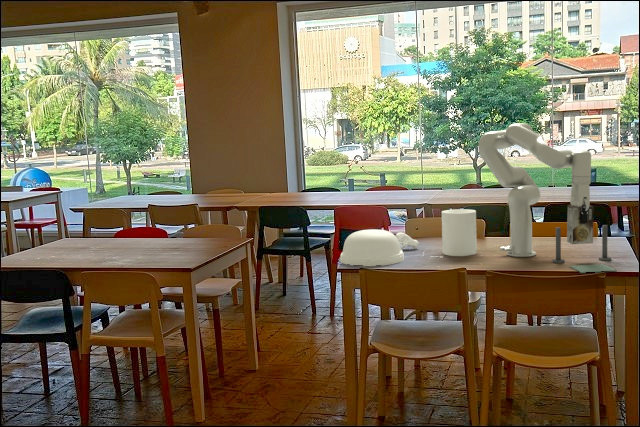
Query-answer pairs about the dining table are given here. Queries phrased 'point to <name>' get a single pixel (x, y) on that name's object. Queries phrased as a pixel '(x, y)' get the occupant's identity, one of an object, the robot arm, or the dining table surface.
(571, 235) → the coffee box
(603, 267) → the green mat
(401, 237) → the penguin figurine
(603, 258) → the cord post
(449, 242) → the canister
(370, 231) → the dome cover
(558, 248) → the post
